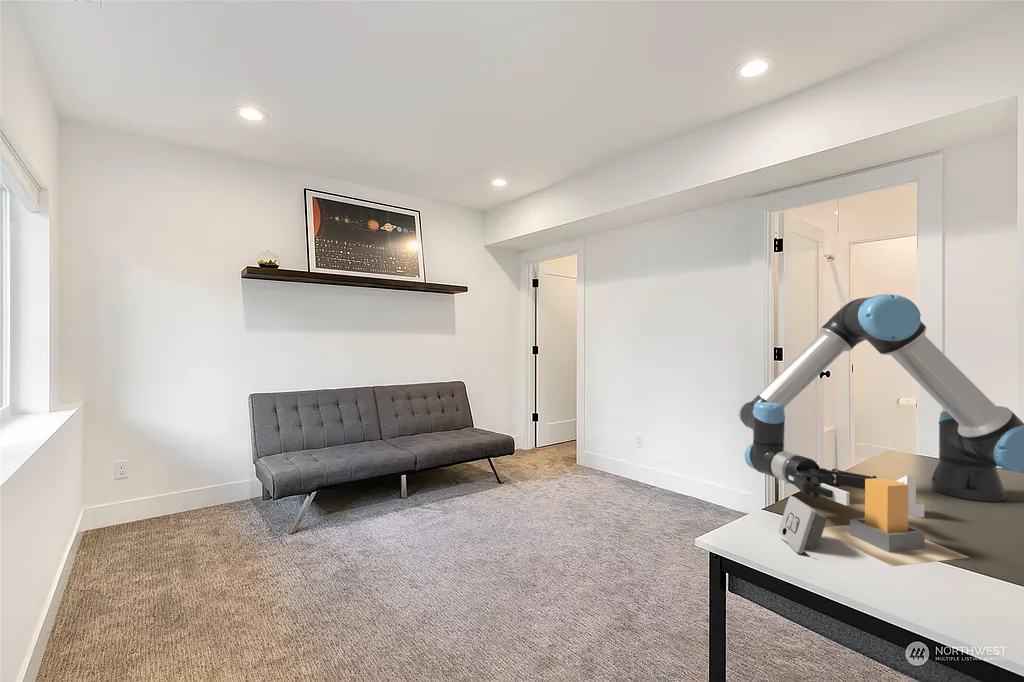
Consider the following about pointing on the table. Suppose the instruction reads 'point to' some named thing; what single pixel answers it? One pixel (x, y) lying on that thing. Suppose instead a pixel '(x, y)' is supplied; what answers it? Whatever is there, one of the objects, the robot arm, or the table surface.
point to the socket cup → (887, 537)
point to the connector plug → (886, 505)
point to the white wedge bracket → (912, 496)
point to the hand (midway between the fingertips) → (874, 497)
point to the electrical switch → (801, 525)
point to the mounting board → (894, 558)
